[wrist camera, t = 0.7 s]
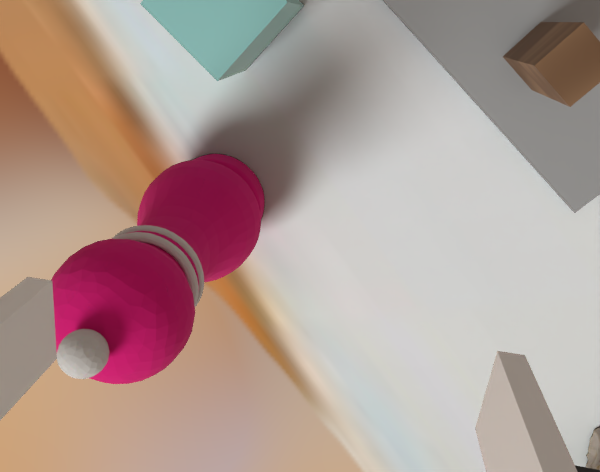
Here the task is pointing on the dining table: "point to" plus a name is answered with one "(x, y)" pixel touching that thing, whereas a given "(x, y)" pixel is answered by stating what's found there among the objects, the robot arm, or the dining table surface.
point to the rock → (594, 451)
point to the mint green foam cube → (223, 29)
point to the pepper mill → (155, 271)
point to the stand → (516, 82)
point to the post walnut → (558, 60)
